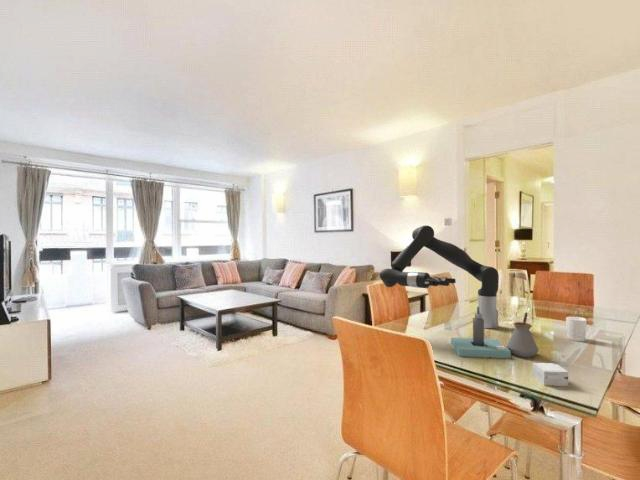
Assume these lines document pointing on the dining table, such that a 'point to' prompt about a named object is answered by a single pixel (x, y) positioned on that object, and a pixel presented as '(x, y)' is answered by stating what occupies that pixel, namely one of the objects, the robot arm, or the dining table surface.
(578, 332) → the white cup
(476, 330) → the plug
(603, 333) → the dining table surface
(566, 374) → the small box
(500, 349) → the socket plate
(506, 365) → the dining table surface
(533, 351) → the coffee pot
